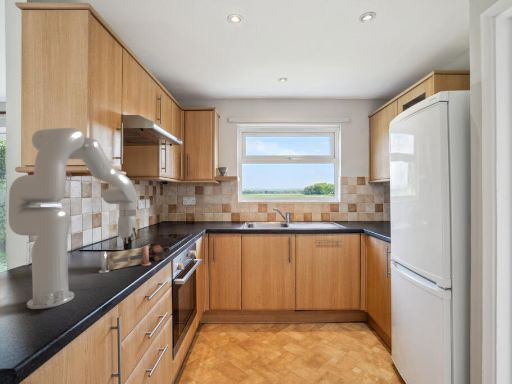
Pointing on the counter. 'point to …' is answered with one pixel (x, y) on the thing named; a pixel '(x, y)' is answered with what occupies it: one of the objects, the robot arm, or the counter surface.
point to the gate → (121, 255)
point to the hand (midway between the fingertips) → (127, 251)
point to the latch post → (145, 256)
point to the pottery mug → (159, 252)
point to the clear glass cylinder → (104, 262)
